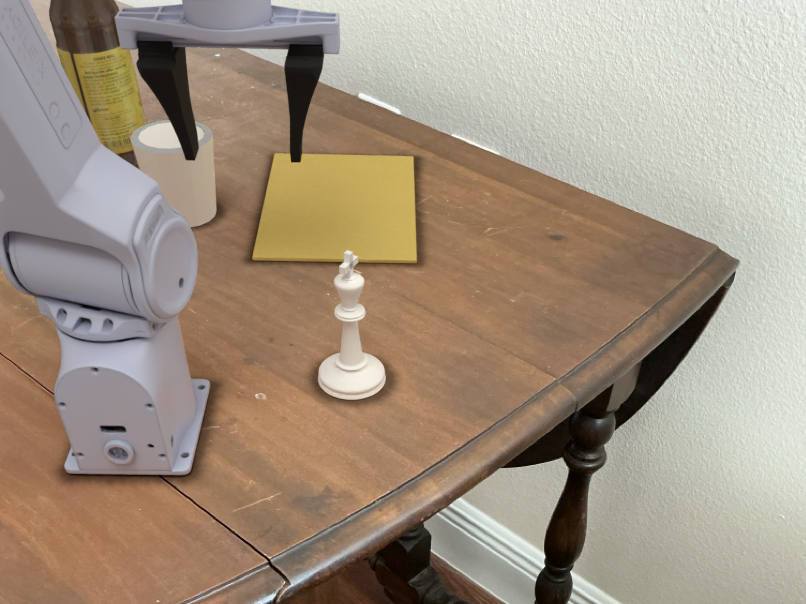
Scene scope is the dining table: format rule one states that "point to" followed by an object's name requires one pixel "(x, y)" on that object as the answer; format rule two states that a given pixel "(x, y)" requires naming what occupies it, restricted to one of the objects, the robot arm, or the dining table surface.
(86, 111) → the sauce bottle
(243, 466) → the dining table surface
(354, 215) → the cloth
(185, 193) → the cream cylinder
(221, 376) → the dining table surface
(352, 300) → the chess piece
